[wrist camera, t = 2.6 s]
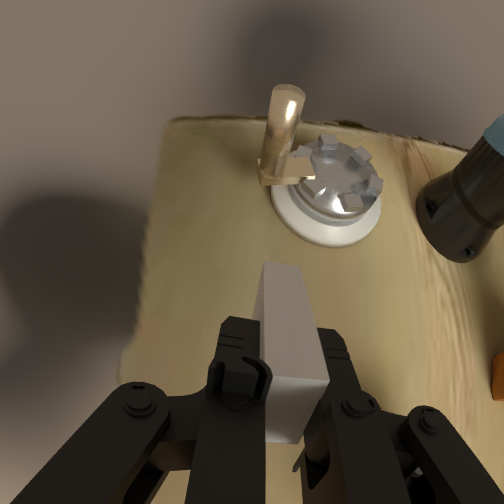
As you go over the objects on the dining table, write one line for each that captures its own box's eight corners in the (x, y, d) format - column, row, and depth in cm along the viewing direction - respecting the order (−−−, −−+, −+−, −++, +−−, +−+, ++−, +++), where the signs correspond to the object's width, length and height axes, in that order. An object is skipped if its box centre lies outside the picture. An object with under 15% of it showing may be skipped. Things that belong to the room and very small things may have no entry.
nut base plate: (320, 141, 47) (323, 132, 45) (393, 207, 43) (399, 200, 41) (246, 187, 41) (248, 178, 39) (330, 271, 37) (335, 265, 35)
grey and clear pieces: (353, 155, 43) (394, 75, 29) (380, 223, 39) (443, 147, 24) (248, 158, 41) (260, 60, 26) (263, 234, 36) (288, 138, 22)
